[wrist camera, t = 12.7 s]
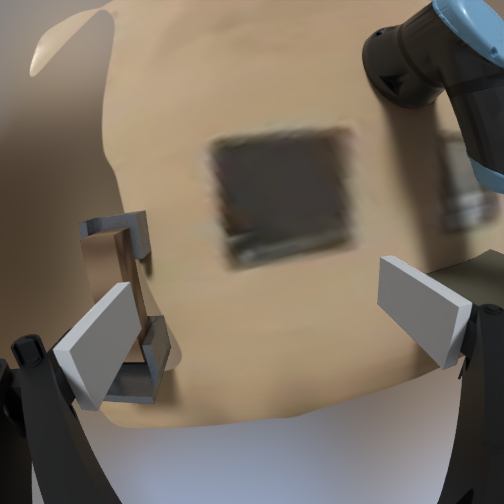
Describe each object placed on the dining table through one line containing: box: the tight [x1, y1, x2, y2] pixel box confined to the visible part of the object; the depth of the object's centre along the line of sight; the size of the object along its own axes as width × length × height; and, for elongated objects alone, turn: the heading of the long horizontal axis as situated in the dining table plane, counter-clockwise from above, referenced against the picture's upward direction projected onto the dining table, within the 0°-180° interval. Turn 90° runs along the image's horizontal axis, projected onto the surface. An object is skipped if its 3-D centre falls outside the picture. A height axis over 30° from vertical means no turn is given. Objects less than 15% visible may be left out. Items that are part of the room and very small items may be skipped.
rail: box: [80, 227, 150, 362], centre depth 37 cm, size 18×5×6 cm, turn 5°
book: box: [426, 249, 504, 309], centre depth 34 cm, size 22×9×28 cm, turn 102°
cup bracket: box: [103, 316, 171, 404], centre depth 37 cm, size 6×9×14 cm, turn 95°
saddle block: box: [79, 210, 151, 259], centre depth 38 cm, size 6×9×4 cm, turn 95°
